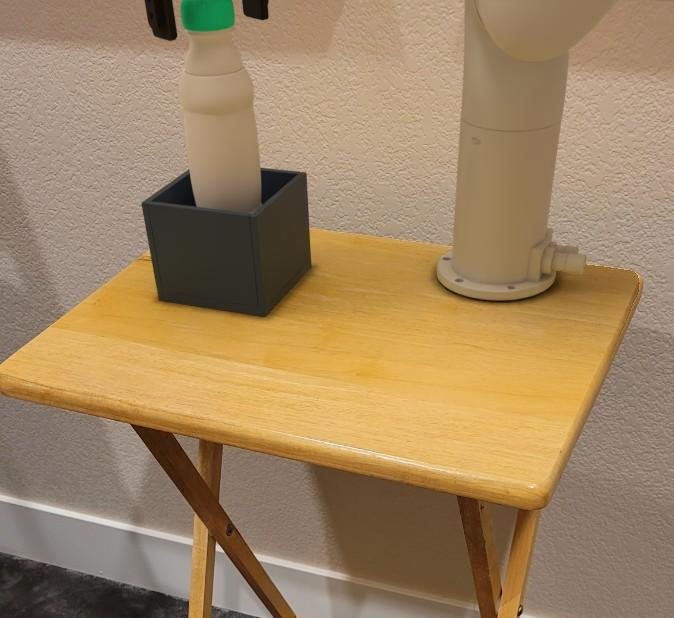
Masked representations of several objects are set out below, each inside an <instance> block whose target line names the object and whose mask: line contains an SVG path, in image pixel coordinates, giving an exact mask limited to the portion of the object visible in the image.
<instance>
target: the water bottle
mask: <svg viewBox="0 0 674 618" xmlns="http://www.w3.org/2000/svg"><path fill="white" fill-rule="evenodd" d="M179 5H180V7H179V9H180V19H181V24H182V27H183V29H184V30H183V31H184V34H185V35H186V36H187V37H188V42H189V45H188V46H189V47H188V49H187V52H186V55H185V58H184V63H183V69H182V72H181V75H180V78H179V83H178V91H177V92H178V99H179V102H180V105H181V106H182V112H183V113H182V115H183V129H184V140H185V141H184V142H185V148H186V156H187V164H188V169H189V171H190V177H191V183H192V188H193V193H194V198H195V202H196V206H197V207H202V208H211V209H219V210H227V211H236V212H244V213H252V214H253V213H254V212H255V211H256V210H257V209H258V208H260V207H261V206H262V203H261V170H260V168H261V159H260V158H261V157H260V147H259V137H258V129H257V122H256V120H257V119H256V114H255V109H254V104H253V102H254V99H255V88H254V87H255V86H254V83H253V80H252V78H251V76H250V74H249V72H248V70H247V68H246V66H245V65H244V64H243V60H242V56H241V55H240V52H239V51H238V49H237V48H236V47H235V45H234V44H233V38H232V37H233V32H234V30H235V23H236V17H235V16H236V15H235V6H234V2H233V0H181V2H180V4H179Z"/></svg>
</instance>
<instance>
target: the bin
mask: <svg viewBox="0 0 674 618" xmlns="http://www.w3.org/2000/svg"><path fill="white" fill-rule="evenodd" d="M260 170H261V203H262V206H261V207H260V208H258V209H257V210H256V211H255V212H254V213H253V214H252V213H244V212H236V211H227V210H219V209H211V208H202V207H197V206H196V202H195V198H194V193H193V188H192V183H191V177H190V171H189V168H188V169H187V170H186V171H184V172H182V173H181V174H180V175H179V176H177V177H175V178H174V179H173V180H171V181H170V182H169V183H167V184H166V185H164V186H163V187H162V188H160V189H158V190H157V191H156V192H155V193H153V194H152V195H150V196H149V197H147V198H146V199H145V200H143V201H142V202H141V203H140V204H141V209H142V215H143V221H144V225H145V232H146V238H147V242H148V248H149V253H150V254H149V255H150V259H151V265H152V270H153V271H152V272H153V276H154V281H155V287H156V292H157V298H158V301H160V302H167V303H174V304H179V305H180V304H181V305H186V306H187V305H188V306H193V307H200V308H205V309H210V310H211V309H212V310H218V311H225V312H231V313H238V314H245V315H249V316H257V317H263V318H266V317H267V316H268V315H269V314H270V312H271V311H272V310H274V308H275V307H276V306H278V304H279V303H280V302H281V301H282V300H283V299H284V298H285V297H286V295H287V294H288V293H289V292H290V291H291V290H292V289H293V288H294V287H295V286H296V285H297V284H298V283H299V282H300V281H301V280H302V278H303V277H304V276H305V275H306V274H307V273H308V272H309V271H310V270H311V269H312V267H313V265H312V251H311V231H310V214H309V213H310V211H309V192H308V176H307V175H308V174H307V172H305V171H297V170H288V169H287V170H286V169H278V168H267V167H260Z"/></svg>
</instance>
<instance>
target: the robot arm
mask: <svg viewBox="0 0 674 618" xmlns="http://www.w3.org/2000/svg"><path fill="white" fill-rule="evenodd" d="M619 1H620V0H464V37H463V39H464V40H463V41H464V42H463V43H464V45H463V46H464V47H463V70H462V71H463V73H462V75H463V76H462V91H461V107H460V108H461V109H460V120H459V136H458V151H457V152H458V153H457V168H456V169H457V170H456V185H455V200H454V216H453V217H454V219H453V233H452V235H453V236H452V249H450V250H448V251H446V252H445V253H443V254H442V256H440V257H439V259H438V261H437V263H436V264H437V265H436V277H437V279H438V281H439V282H440V283H441V284H442V285H443V287H445V288H447V289H448V290H450V291H452V292H453V293H456V294H458V295H461V296H464V297H467V298H468V297H469V298H472V299H477V300H486V301H514V300H521V299H526V298H530V297H533V296H536V295H538V294H541V293H543V292H545V291H546V290H547V289H549V288H550V287H551V286H552V285H553V284H554V282H555V281H556V275H557V272H563V273H566V274H571V275H579V276H583V274H584V272H585V268H586V264H587V257H588V255H587V254H581V253H579V250H580V248H579V246H576V245H575V246H574V245H560V244H557V241H553V233H554V228H552V227H548V223H549V216H550V209H551V200H552V194H553V187H554V186H553V185H554V180H555V171H556V164H557V156H558V148H559V147H558V146H559V140H560V135H561V134H560V132H561V126H562V119H563V117H564V116H563V115H564V107H565V100H566V93H567V84H568V83H567V82H568V74H569V61H570V60H569V59H570V50H571V49H573V48H574V47H576V46H577V44H579V43H580V42H581V41H582V40H583V39H584V38H585V37H586V36H587V35H589V34H590V32H592V30H594V28H595V27H596V26H597V25H599V23H600V22H601V21H602V20H603V19H604V18H605V17H606V16H607V15H608V13H609V12H610V11H611V10H612V9H613V8H614V6H616V4H617V3H618V2H619ZM269 2H270V0H241V5H242V13H243V15H244V17H247V18H251V19H254V20H259V21H267V20H269V17H270V13H269ZM144 6H145V13H146V18H147V23H148V26H149V28H150V29H151V31H152V34H153V36H154V37H155V38H157V39H158V38H159V39H161V40H165V41H168V42H173V41H176V40H177V38H178V30H177V23H176V22H177V21H176V15H175V9H174V3H173V0H144Z"/></svg>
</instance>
